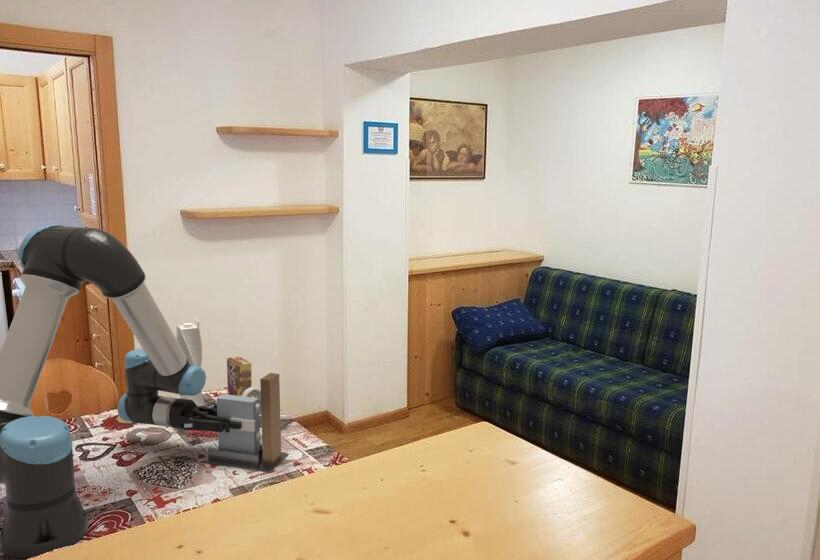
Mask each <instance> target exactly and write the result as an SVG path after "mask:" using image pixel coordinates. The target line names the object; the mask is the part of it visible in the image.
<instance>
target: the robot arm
mask: <svg viewBox="0 0 820 560" xmlns="http://www.w3.org/2000/svg"><path fill="white" fill-rule="evenodd" d="M18 259H19V260H20V262H19V264H20V266H21V268H22V273H21V275H20V279H22V281H23V284H24V285H25V288H24V290H23V291H22V295H21V298H20V300H19V302H18V306H17V308H16V310H15V312H14V315H13V318H12V321H11V323H10V326H9V329H8V331H7V334H6V336H5V339H4V341H3V344H2V346H1V348H0V483H1V484H3V485H4V487H5V494H6V495H5V496H6V504H7V505H6V506H7V509H6V513H5V517H4V521H3V527H2V529H1V531H0V549H1V551H2V553H4V554H5V555H6V556H9V557H11V558H17V559H31V558H30V557H33V556H38V555H40V554H43V553H46V552H49V551H52V550H54V549H58V548H62V547H65V546H69V545H71V546H72V544H73V545H74V544H76V543H77V542H78V541H80V540H81V539H82V538H83V537H84V536H86V533H87V532H88V529H89V520H88V515H87V512H86V511H85V509H84V508H83V507H84V506H83V505H82V503H81V500H80V499H79V497H78V495H77V493H76V484H75V469H74V455H73V453H74V452H73V439H72V437H71V432H70V428H69V425H68V424H67V423H66V422H65V421H64V420H62V419H60V418H58V417H54V416H51V415H50V416H49V415H40V416H37V415H35V414H34V412H33V410H32V409H31V406H30V405H31V403H32V399H33V397H34V394H35V392H36V390H37V386H38V383H39V380H40V378H41V375H42V372H43V369H44V367H45V363H46V361H47V359H48V356H49V353H50V350H51V348H52V345H53V342H54V339H55V337H56V334H57V331H58V328H59V326H60V323H61V320H62V317H63V315H64V313H65V309H66V307H67V303H68V302H69V299H70V298H72V297H73V296H75V295H78V294H79V293H80V290H81V289H82V285H83V282H88V283H90V284H93V285H94V286H96V287H97V288H98V289H99V290H100V292H101V294H102V295H103V296H104V297H105V298H107V299H111V300H112V302H113V304H114V305H115V306H116V308H117V310H118V311H119V312H120V314H121V317H122V318H123V319H124V321H125V323H126V324H127V325H128V328H129V329H130V331H131V332H132V334H133V335H134V336H135V339H136V340H137V342H138V343H139V345H140V347H141V348H137V349H133V350H130V351H129V352H127V353H126V354H125V357H124V374H126V379H125V385H126V393H124V394H123V395H122V396H121V397H120V398H119V401H118V406H117V415H118V416H120V418H121V419H123V420H125V421H129V422H133V423H132V424H141V425H142V424H143V425H152V426H159V427H165V428H167V429H169V428H174V429H180V430H184V431H203V432H212V433H213V432H214V433H218V432H223V429H224V430H225V433H228V432H229V428H230V429H235V430H243V431H251V432H255V431H256V427H255V420H248V419H240V418H230V421H229V419H227V418H222V417H217V402H211V403H210V406H197V405H196V404H195V402H194V401H193V400H189V399H181V398H180V397H179V398H178V397H172V396H163V395H159V392H165V393H171V394H175V395H179V396H180V395H190V396H194V395H197V394H198V393H200V392H201V390H203V389H204V388H205V385H206V380H207V375H206V372H205V370H204V369H203V367H202V366H201V367H198V366H196V365H191V364H190V363H189V361H188V359H187V358H186V356H185V354H184V352H183V350H182V349H181V347H180V345H179V343H178V342H177V340H176V335H174V333H173V331H172V329H171V328H170V325H169V323H168V322H167V321H166V318H165V316H164V315H163V314H162V312H161V310H160V308H159V306H158V305H157V302H156V301H155V299H154V297H153V296H152V294H151V292H150V291H149V288H148V286H147V285H146V284H145V281H146V277H147V276H146V274H145V271H144V270H143V268H142V267H141V265H140V263H139V262H138V260H137V259H136V258H135V256H134V254H132V253H131V251H130V250H129V249H128V248H127V247H126V246H125V245H124V244H123V243H122V242H121V240H119V239H118V238H117V237H115V236H114V235H113V234H111V233H109V232H107V231H105V230H104V229H100V228H96V227H77V226H67V225H60V224H56V225H45V226H39V227H37V228H35V229H33V230H31V231H30V232H29V233H28V234H26V235H25V237H23V239H22V241H21V242H20V245H19V249H18ZM259 422H260V426H262V423H261V415H259ZM69 547H70V546H69ZM33 558H34V557H33Z"/></svg>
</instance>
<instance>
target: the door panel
mask: <svg viewBox="0 0 820 560" xmlns="http://www.w3.org/2000/svg"><path fill="white" fill-rule="evenodd" d="M216 404H217V417H222V418H227V419H229V421H230V418H240V419H248V420H255V427H256V431H255V432H251V431H243V430H235V429H230V428H229V432H228V433H225V430H224V429H223V432H217V435H218V437H217V439H218V447H219V449H225V450H232V451H240V452H247V453H254V454H257V453H259V452H260V444H261V442H262V435H261V430H260V429H261V427H260V422H259V412H260V406H261V405H260V404H259V398H255V397H253V396H252V397H243V396H235V395H228V394H225V393H224V394H221V395H219V396H218V397H216Z"/></svg>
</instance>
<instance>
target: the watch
mask: <svg viewBox="0 0 820 560" xmlns="http://www.w3.org/2000/svg"><path fill="white" fill-rule="evenodd" d="M251 392H252V397H253V398H259V404H260V412H259V415H261V387H258V386H254V387H253V386H252V387H250V388H247V389H246V390H245V391H244V392H243V393H242V395H241V396H243V397H247V396H248V395H249V394H250V393H251ZM260 428H262V426H260Z"/></svg>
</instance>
